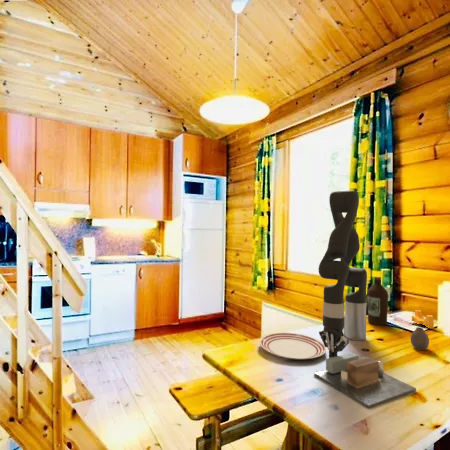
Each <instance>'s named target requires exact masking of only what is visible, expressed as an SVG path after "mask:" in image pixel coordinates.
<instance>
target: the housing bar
mask: <svg viewBox="0 0 450 450" xmlns="http://www.w3.org/2000/svg"><path fill="white" fill-rule="evenodd" d="M358 359H360V355H359V354H357V353H354V352H349V353H344V354H341V355H337V356H336V357H332V358H329V357H328V358H325V370H326V371H328V372H330V373H332V374H334V373H338V372H341V371H342V370H347V362H349V361H353V360H358Z"/></svg>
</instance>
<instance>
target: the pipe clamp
mask: <svg viewBox="0 0 450 450" xmlns="http://www.w3.org/2000/svg"><path fill="white" fill-rule="evenodd" d="M434 317H435V316H434V315H431V314H427V315H425V318H424V316H423V311H422V310H420V309H418V310H417V309H414V315H411V322H412V321H414V322H416V323H418V324H423V325H425V326H426V327H428V328H430V330H431V329H432V330H434V328H435V327H434V324H435V323H434V322H435V321H434ZM414 322H413V323H414ZM426 327H425V328H426ZM428 328H427V329H428Z"/></svg>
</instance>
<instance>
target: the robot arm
mask: <svg viewBox="0 0 450 450" xmlns="http://www.w3.org/2000/svg"><path fill="white" fill-rule="evenodd" d="M328 201H329V207H330V211H331V215H332V220H333V224H334V229H333V230H332V231H331V233H330V235H329V239H328V244H327V249H326V251H325V253H324V255H323V257H322V259H321V261H320V263H319V264H318V275H319V276H320V277H321V278H322V279H327V280H335V281H337V282H336V283H335V284H329V285H325V286H324V287H323V303H322V305H323V306H322V326H323V329H322V330H320V331H318V333H319V336H320V340H321V341H322V343H323V344H324V346H325V347H326V349H327V350H328V358H332V357H336V356H338V353H339V352H343V350H344V349H345V348H346V347H347V346H348V344H349V342H350V341H349V340H353V341H365V340H366V339H367V285H368V284H367V283H368V272H367V270H366V268H360V267H350V264H351V263H352V260H353V259H355V257H356V256H357V254H358V253H359V251H360V248H361V246H360V238H359V237H360V236H359V234H358V232H357V231H356V229H355V228H354V227H353V225H354V222H355V221H356V220H355V219H356V217H357V213H358V210H359V203H360V197H359V193H358V191H356V190H336V191H335V190H334V191H332V192H330V194H329V199H328ZM343 213H344V214H346V215H345V216H344V214H343ZM338 259H339V260H338ZM345 287H350V288H358V290H356V291H354V292H350V293H346V294H345ZM344 295H345V298H344ZM344 299H345V300H344ZM344 302H345V303H344ZM344 304H345V305H344ZM346 338H347V339H349V340H346Z"/></svg>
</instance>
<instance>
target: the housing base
mask: <svg viewBox="0 0 450 450" xmlns="http://www.w3.org/2000/svg"><path fill="white" fill-rule="evenodd" d="M377 361H378V380H375V381H371V382H368V383H364V384H361V385H358V386H356V385H355V384H353V383H351V382H349V381H348V372H347V370H342V371H341V372H338V373H334V374H332V373H330V372H328V371H326V369H323V370H320V371H317V372H314V373H313V376H314V377H315V378H317V379H318V380H320V381H322V382H323V383H325V384H327V385H329V386H330V387H332V388H334V389H335V390H337V391H338V392H341V394H343V395H345V396H347V397H348V398H350V399H352V400H354V401H355V402H356V403H358V404H360V405H362V406H363V407H365V408H366V409H368V410H369V409H372V408H375V407H377V406H380V405H382V404H385V403H388V402H392V401H394V400H397V399H400V398H402V397H405V396H407V395H410V394H413V393H416V392H417V388H416V387H415V386H413V385H410V384H408V383H406V382H405V381H401V380H399V379H398V378H395V377H393V376H391V375H389V374H387V373H384V362H383V361H382V360H377Z"/></svg>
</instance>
